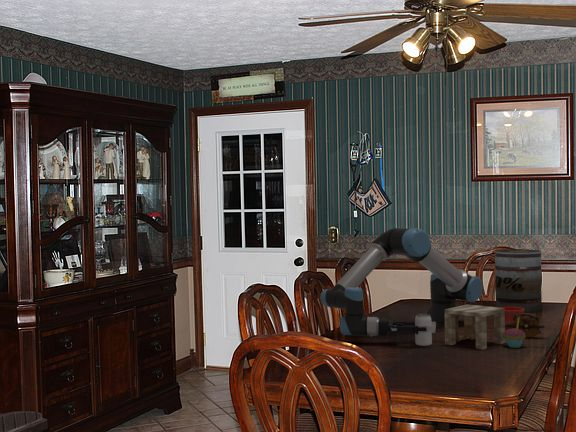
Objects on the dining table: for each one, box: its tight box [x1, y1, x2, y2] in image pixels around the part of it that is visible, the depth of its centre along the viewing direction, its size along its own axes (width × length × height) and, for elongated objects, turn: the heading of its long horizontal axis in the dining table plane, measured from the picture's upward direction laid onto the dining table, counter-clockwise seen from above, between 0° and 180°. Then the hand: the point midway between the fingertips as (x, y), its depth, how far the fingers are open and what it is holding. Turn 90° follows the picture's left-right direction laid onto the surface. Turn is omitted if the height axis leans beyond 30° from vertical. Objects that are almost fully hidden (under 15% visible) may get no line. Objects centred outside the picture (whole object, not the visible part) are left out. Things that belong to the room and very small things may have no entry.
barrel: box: [494, 248, 543, 314], centre depth 399 cm, size 22×22×30 cm
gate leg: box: [455, 314, 476, 343], centre depth 321 cm, size 13×4×12 cm, turn 131°
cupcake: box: [503, 316, 526, 349], centre depth 307 cm, size 9×8×12 cm
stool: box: [444, 304, 506, 350], centre depth 314 cm, size 17×17×14 cm
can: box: [414, 313, 433, 347], centre depth 315 cm, size 6×6×12 cm
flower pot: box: [500, 307, 524, 331], centre depth 342 cm, size 11×11×10 cm
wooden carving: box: [505, 313, 546, 338], centre depth 325 cm, size 16×5×10 cm, turn 70°
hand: (435, 327), depth 314 cm, fingers open, 8 cm apart
